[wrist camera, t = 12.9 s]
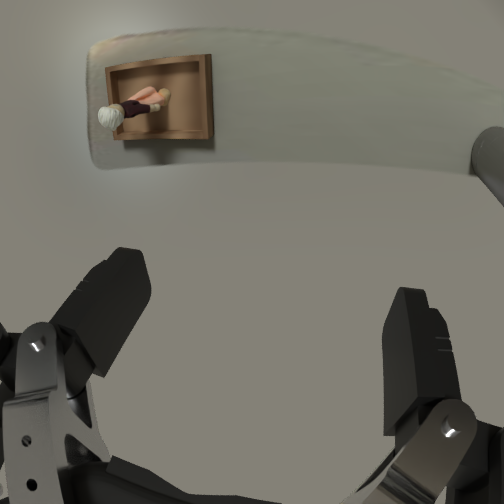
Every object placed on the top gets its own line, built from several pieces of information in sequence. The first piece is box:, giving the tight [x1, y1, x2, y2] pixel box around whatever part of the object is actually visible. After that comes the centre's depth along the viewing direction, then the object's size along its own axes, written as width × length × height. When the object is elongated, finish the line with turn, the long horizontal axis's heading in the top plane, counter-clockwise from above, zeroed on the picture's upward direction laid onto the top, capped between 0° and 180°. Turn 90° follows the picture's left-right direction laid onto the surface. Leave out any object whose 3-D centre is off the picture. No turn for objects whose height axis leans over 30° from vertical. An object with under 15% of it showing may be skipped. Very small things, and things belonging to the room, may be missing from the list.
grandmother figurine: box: [98, 87, 170, 131], centre depth 37 cm, size 8×4×13 cm, turn 99°
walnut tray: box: [105, 54, 214, 140], centre depth 41 cm, size 16×12×2 cm
